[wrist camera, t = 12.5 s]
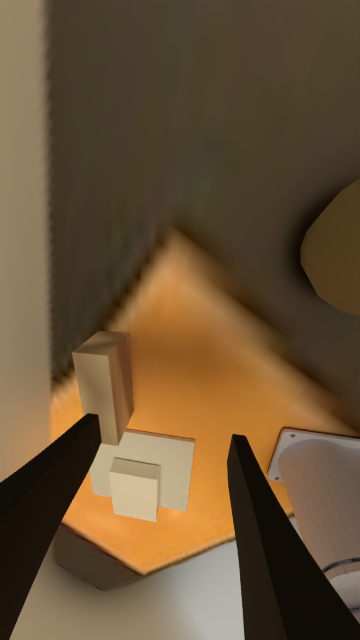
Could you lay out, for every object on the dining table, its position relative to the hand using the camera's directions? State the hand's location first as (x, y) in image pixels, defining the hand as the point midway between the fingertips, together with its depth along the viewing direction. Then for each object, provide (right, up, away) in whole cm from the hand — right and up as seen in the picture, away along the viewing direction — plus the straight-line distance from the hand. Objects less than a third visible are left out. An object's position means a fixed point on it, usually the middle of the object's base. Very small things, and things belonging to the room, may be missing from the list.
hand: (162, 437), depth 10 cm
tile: (-5, -12, +14) cm, 19 cm away
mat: (-5, -14, +16) cm, 22 cm away
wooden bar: (-6, 0, +11) cm, 12 cm away
